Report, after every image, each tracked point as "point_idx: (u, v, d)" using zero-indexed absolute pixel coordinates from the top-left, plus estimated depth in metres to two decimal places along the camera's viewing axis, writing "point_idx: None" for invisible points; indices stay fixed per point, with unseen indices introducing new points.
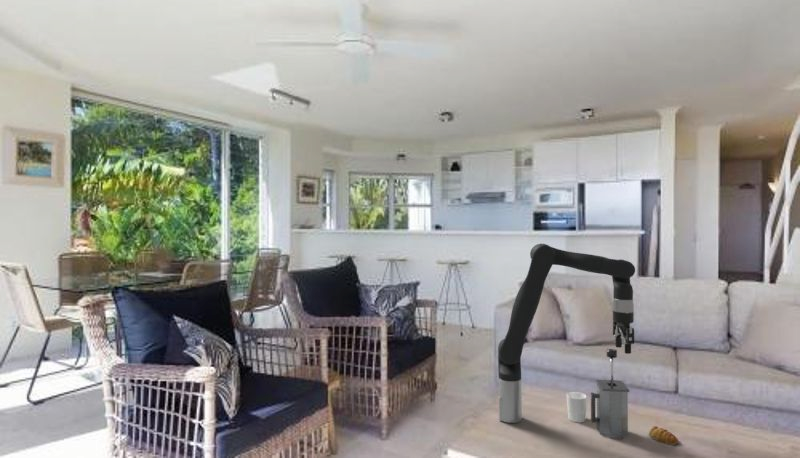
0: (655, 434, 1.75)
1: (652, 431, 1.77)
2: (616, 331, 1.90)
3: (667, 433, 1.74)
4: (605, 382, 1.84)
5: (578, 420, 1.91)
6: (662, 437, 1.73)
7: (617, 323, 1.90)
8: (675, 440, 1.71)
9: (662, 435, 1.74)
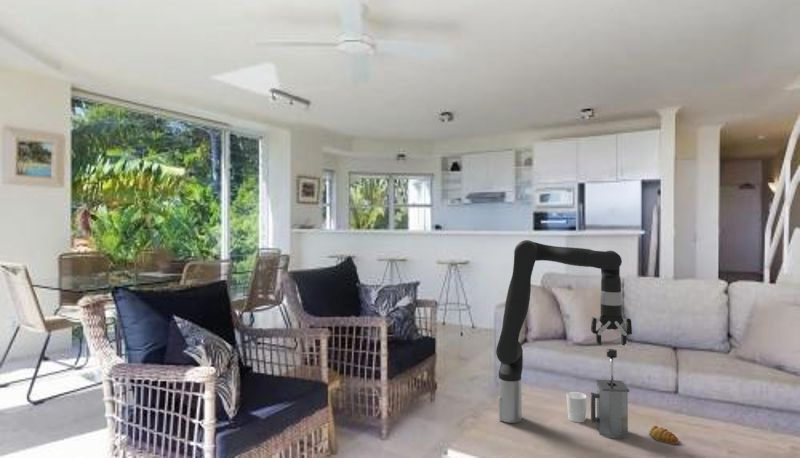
0: (655, 434, 1.75)
1: (652, 431, 1.77)
2: (606, 327, 1.79)
3: (667, 433, 1.74)
4: (605, 382, 1.84)
5: (578, 420, 1.91)
6: (662, 436, 1.73)
7: (604, 318, 1.80)
8: (675, 440, 1.72)
9: (662, 435, 1.74)
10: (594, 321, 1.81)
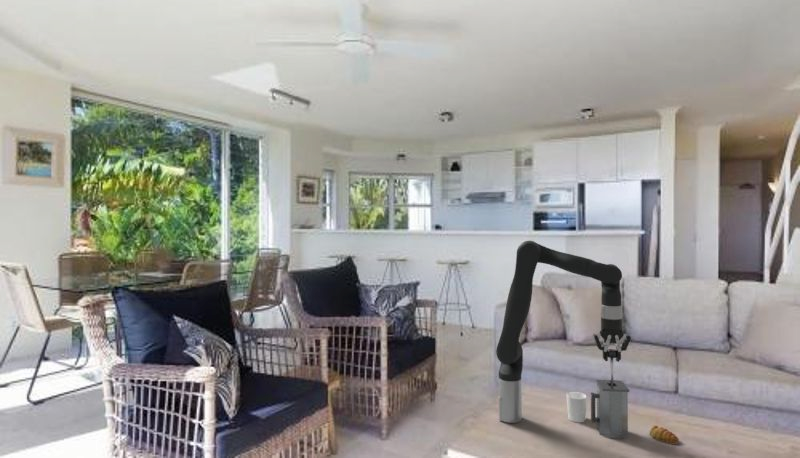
0: (656, 433, 1.76)
1: (652, 430, 1.77)
2: (609, 341, 1.79)
3: (667, 432, 1.75)
4: (605, 382, 1.84)
5: (578, 420, 1.91)
6: (662, 436, 1.74)
7: (604, 332, 1.80)
8: (676, 439, 1.72)
9: (663, 435, 1.74)
10: (596, 338, 1.81)
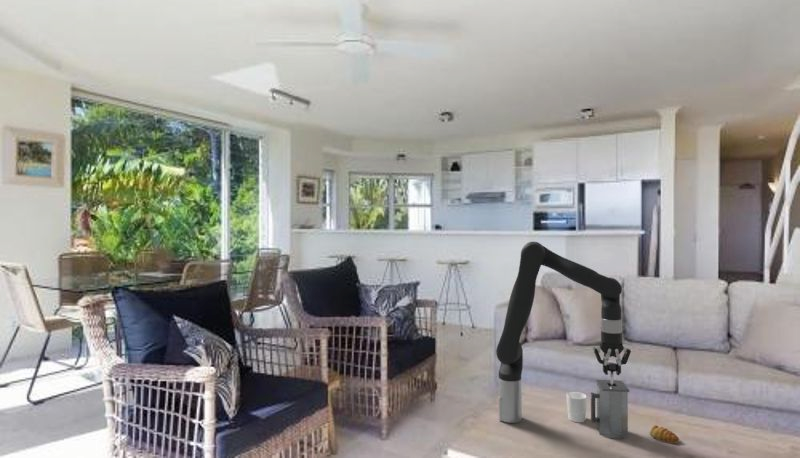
0: (656, 433, 1.76)
1: (653, 430, 1.77)
2: (609, 355, 1.79)
3: (668, 432, 1.75)
4: (605, 382, 1.84)
5: (578, 420, 1.91)
6: (663, 436, 1.74)
7: (604, 346, 1.80)
8: (676, 439, 1.72)
9: (663, 434, 1.74)
10: (596, 352, 1.81)
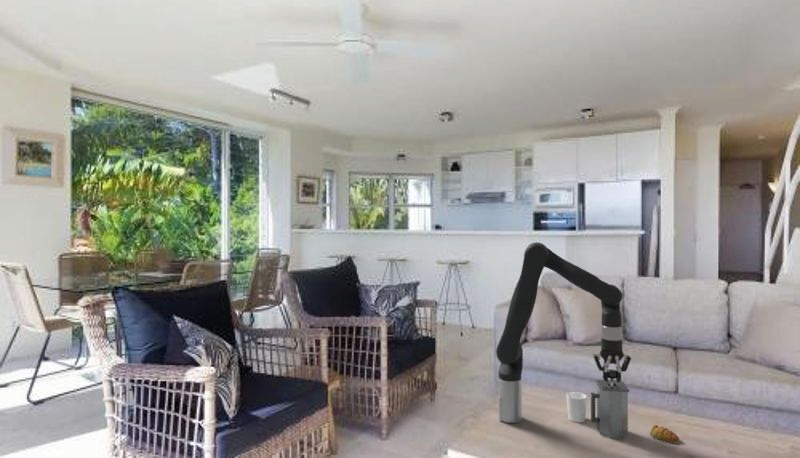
0: (657, 433, 1.76)
1: (653, 430, 1.78)
2: (609, 362, 1.80)
3: (668, 432, 1.75)
4: (605, 382, 1.84)
5: (578, 420, 1.91)
6: (663, 436, 1.74)
7: (604, 353, 1.80)
8: (676, 438, 1.73)
9: (663, 434, 1.75)
10: (596, 359, 1.81)
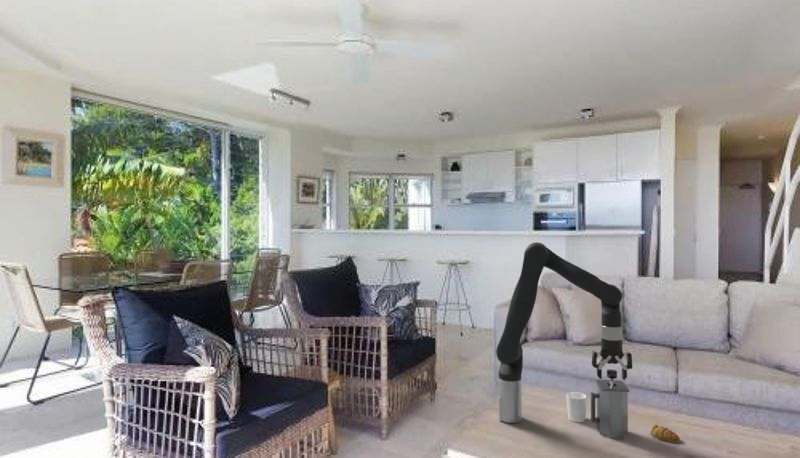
0: (657, 433, 1.76)
1: (653, 430, 1.78)
2: (607, 361, 1.80)
3: (668, 431, 1.75)
4: (605, 382, 1.84)
5: (578, 420, 1.91)
6: (664, 435, 1.74)
7: (605, 353, 1.80)
8: (677, 438, 1.73)
9: (664, 434, 1.75)
10: (595, 355, 1.81)
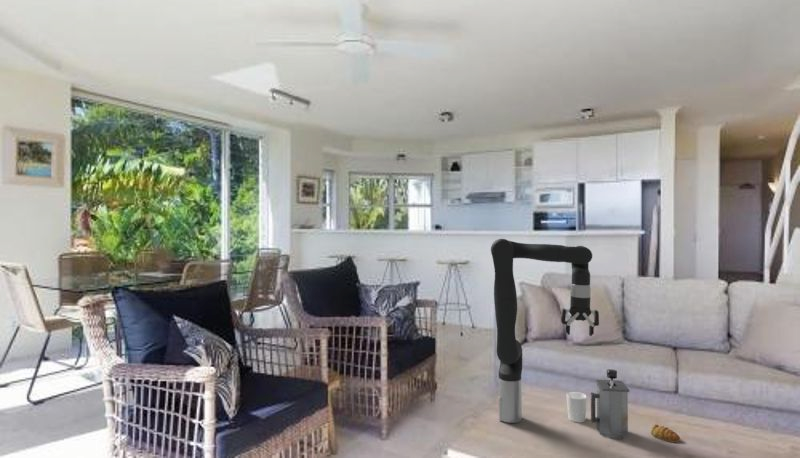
0: (657, 432, 1.76)
1: (654, 429, 1.78)
2: (575, 318, 1.89)
3: (669, 431, 1.76)
4: (605, 382, 1.84)
5: (578, 420, 1.91)
6: (664, 435, 1.75)
7: (573, 310, 1.90)
8: (677, 438, 1.73)
9: (664, 433, 1.75)
10: (564, 312, 1.90)
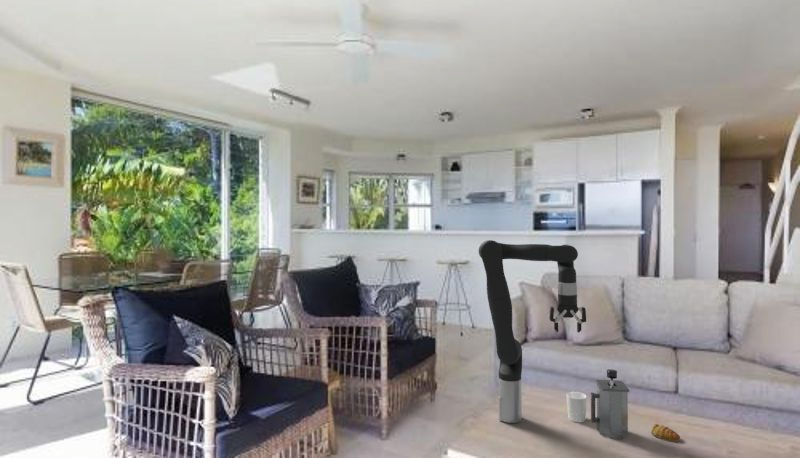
0: (658, 432, 1.77)
1: (654, 429, 1.78)
2: (562, 315, 1.93)
3: (669, 430, 1.76)
4: (605, 382, 1.84)
5: (578, 420, 1.91)
6: (665, 434, 1.75)
7: (561, 307, 1.94)
8: (678, 437, 1.74)
9: (665, 433, 1.75)
10: (552, 310, 1.95)
